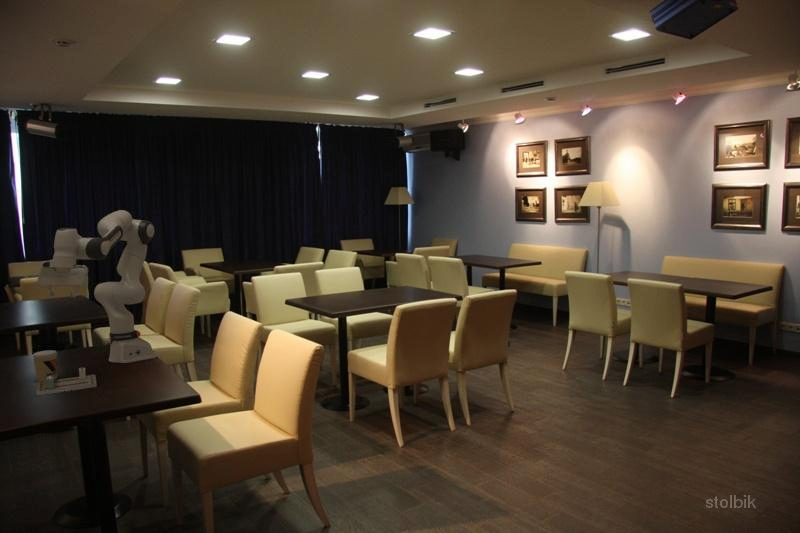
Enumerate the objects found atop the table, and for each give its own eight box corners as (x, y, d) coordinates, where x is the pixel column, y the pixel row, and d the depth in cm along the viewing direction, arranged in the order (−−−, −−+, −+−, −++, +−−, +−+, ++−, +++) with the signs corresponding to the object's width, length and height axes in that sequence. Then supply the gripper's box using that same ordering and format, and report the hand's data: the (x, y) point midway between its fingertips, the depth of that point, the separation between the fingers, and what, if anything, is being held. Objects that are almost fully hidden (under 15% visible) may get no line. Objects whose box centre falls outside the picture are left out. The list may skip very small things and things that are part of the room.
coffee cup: (48, 382, 264) (45, 355, 262) (29, 381, 266) (27, 354, 264) (63, 376, 273) (61, 350, 272) (46, 375, 275) (44, 349, 273)
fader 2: (85, 376, 266) (84, 366, 265) (85, 378, 262) (85, 369, 262) (79, 377, 265) (78, 367, 264) (79, 379, 261) (78, 369, 261)
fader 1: (54, 385, 253) (53, 375, 253) (53, 388, 249) (53, 377, 249) (47, 386, 252) (46, 376, 252) (47, 389, 248) (46, 378, 248)
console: (95, 378, 269) (95, 373, 269) (96, 386, 256) (96, 381, 256) (38, 386, 259) (37, 381, 258) (36, 395, 246) (36, 390, 245)
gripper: (92, 265, 262) (89, 297, 261) (45, 264, 262) (42, 296, 261) (84, 264, 256) (82, 296, 255) (36, 263, 256) (34, 295, 255)
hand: (62, 296), depth 258 cm, fingers open, 8 cm apart
